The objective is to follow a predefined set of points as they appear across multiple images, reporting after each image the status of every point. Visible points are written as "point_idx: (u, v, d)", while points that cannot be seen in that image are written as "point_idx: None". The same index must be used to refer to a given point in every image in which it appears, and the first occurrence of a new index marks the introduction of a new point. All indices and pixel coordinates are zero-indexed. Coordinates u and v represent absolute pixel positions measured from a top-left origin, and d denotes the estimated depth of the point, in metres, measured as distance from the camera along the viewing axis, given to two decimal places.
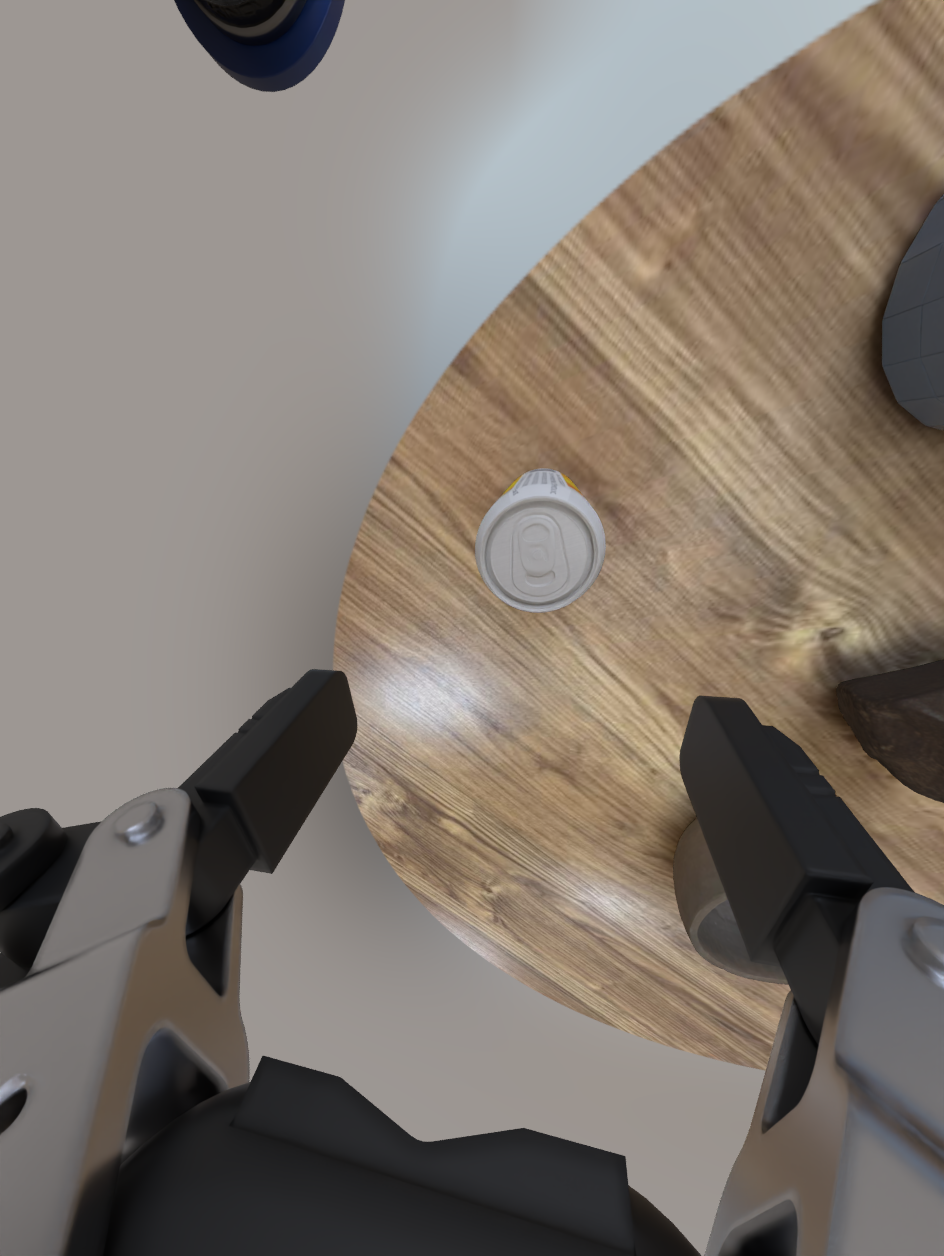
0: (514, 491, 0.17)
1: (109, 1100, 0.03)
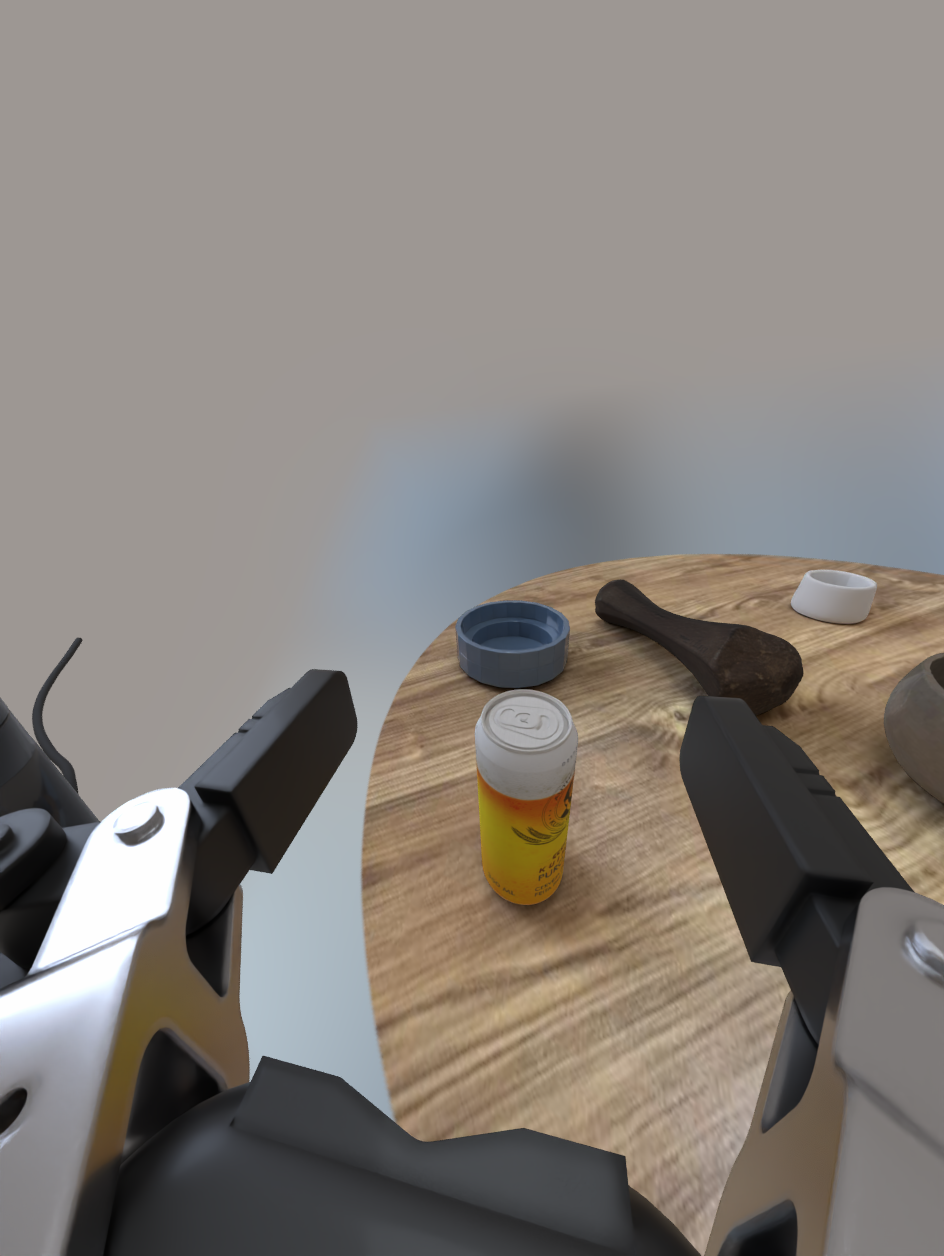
0: (475, 728, 0.23)
1: (109, 1100, 0.03)
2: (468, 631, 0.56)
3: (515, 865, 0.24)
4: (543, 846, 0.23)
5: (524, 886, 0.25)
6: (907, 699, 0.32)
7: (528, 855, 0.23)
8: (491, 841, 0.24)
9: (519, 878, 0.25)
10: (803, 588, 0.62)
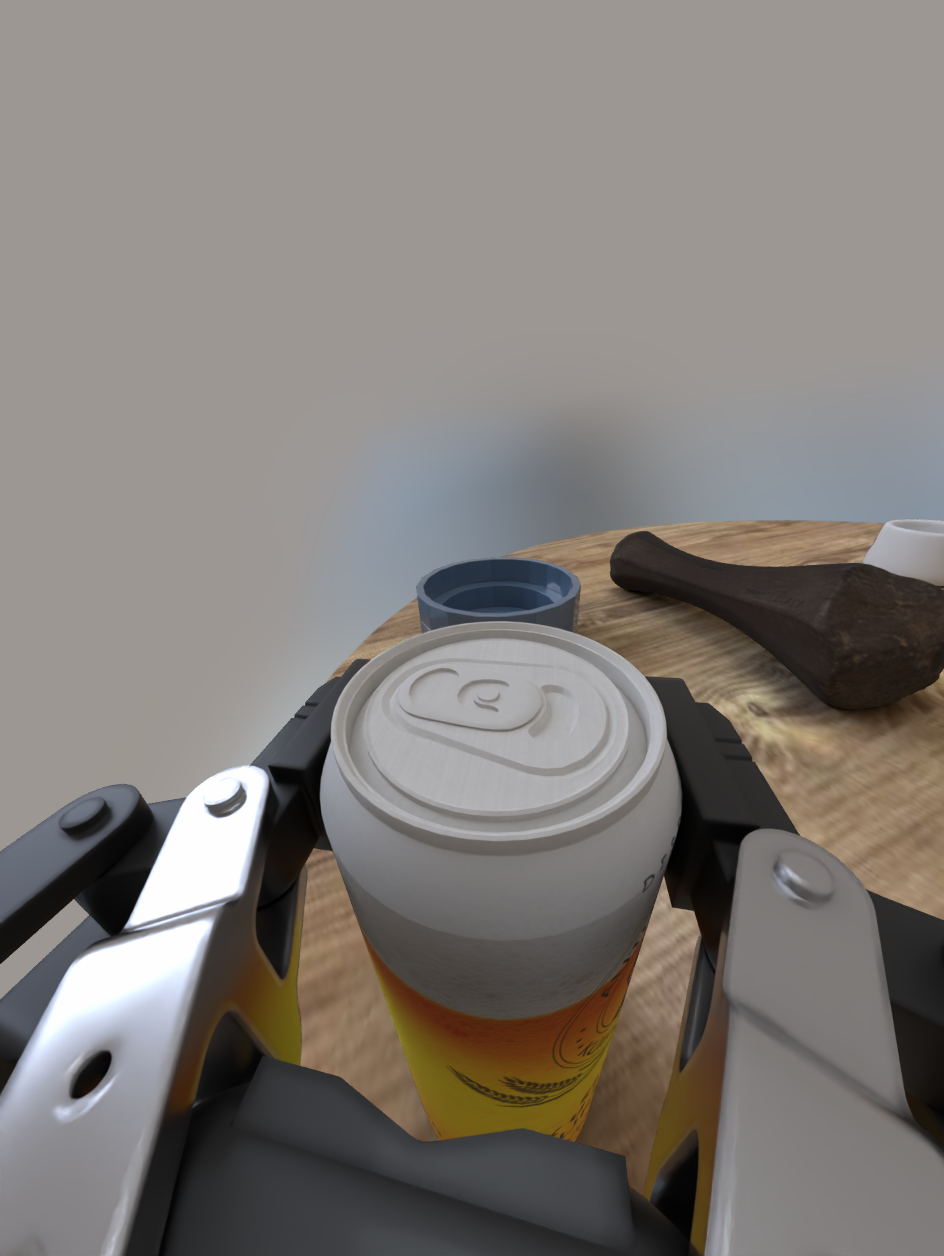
0: None
1: (178, 1085, 0.03)
2: (437, 597, 0.40)
3: (472, 1132, 0.08)
4: (556, 1101, 0.07)
5: None
6: None
7: (508, 1124, 0.08)
8: (405, 1053, 0.09)
9: None
10: (884, 542, 0.47)
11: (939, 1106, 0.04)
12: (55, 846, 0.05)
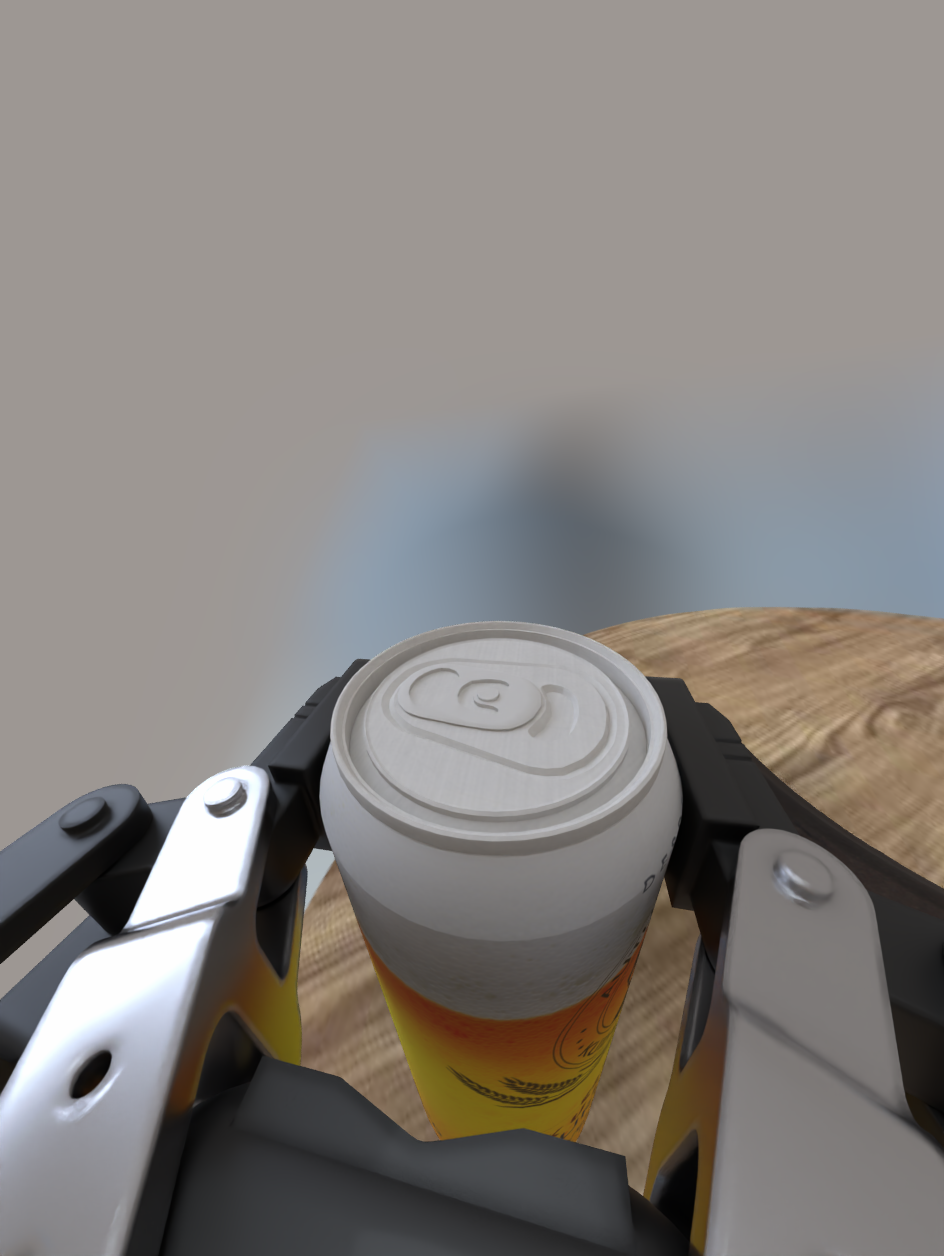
0: None
1: (178, 1085, 0.03)
2: None
3: (472, 1133, 0.08)
4: (557, 1102, 0.07)
5: None
6: None
7: (509, 1124, 0.08)
8: (406, 1054, 0.09)
9: None
10: None
11: (938, 1106, 0.04)
12: (54, 846, 0.05)
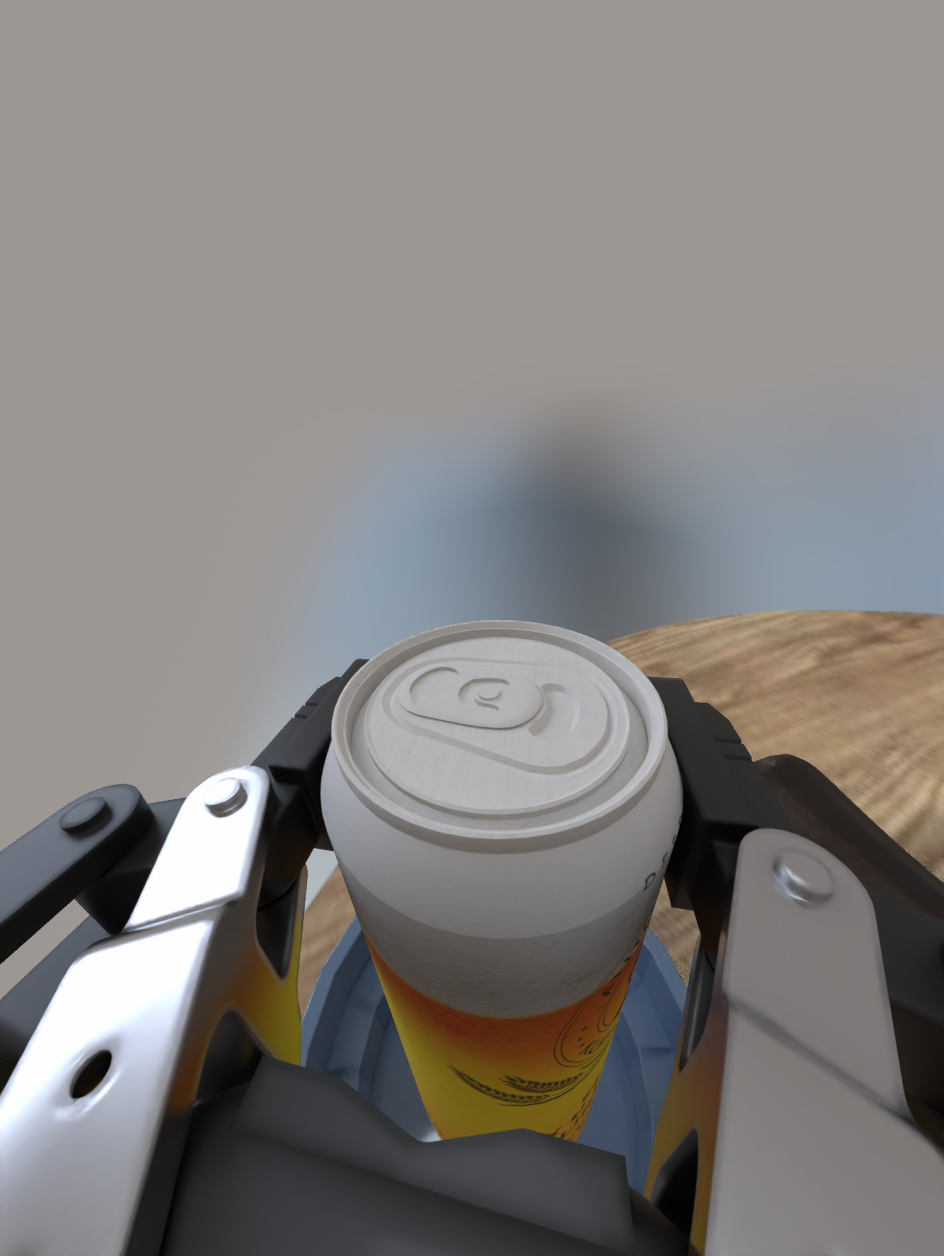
0: None
1: (178, 1085, 0.03)
2: (365, 975, 0.18)
3: (473, 1131, 0.08)
4: (558, 1100, 0.07)
5: None
6: None
7: (509, 1122, 0.08)
8: (407, 1052, 0.09)
9: None
10: None
11: (938, 1106, 0.04)
12: (55, 846, 0.05)
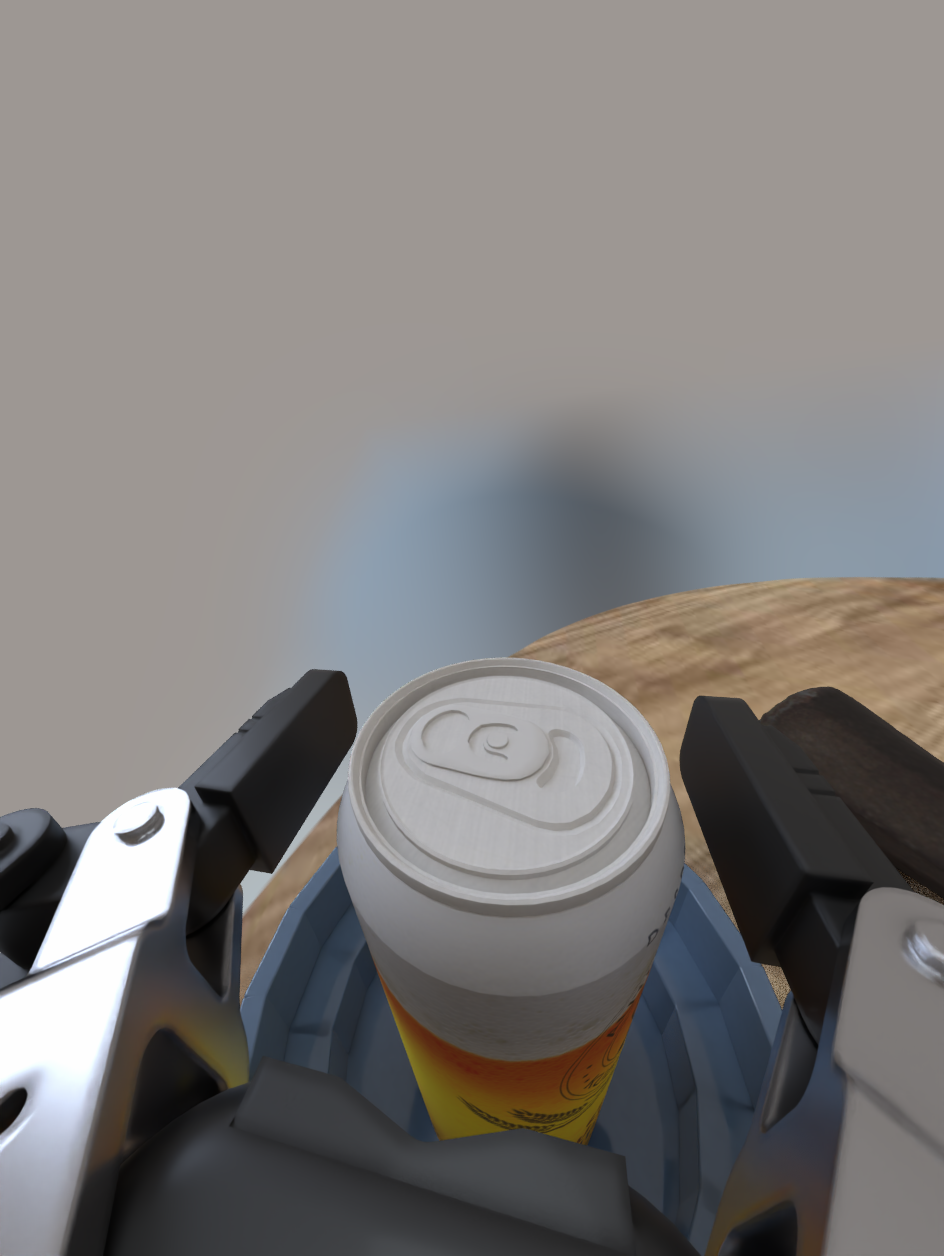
0: None
1: (109, 1100, 0.03)
2: (345, 922, 0.15)
3: None
4: (563, 1128, 0.08)
5: None
6: None
7: None
8: (416, 1077, 0.09)
9: None
10: None
11: None
12: None
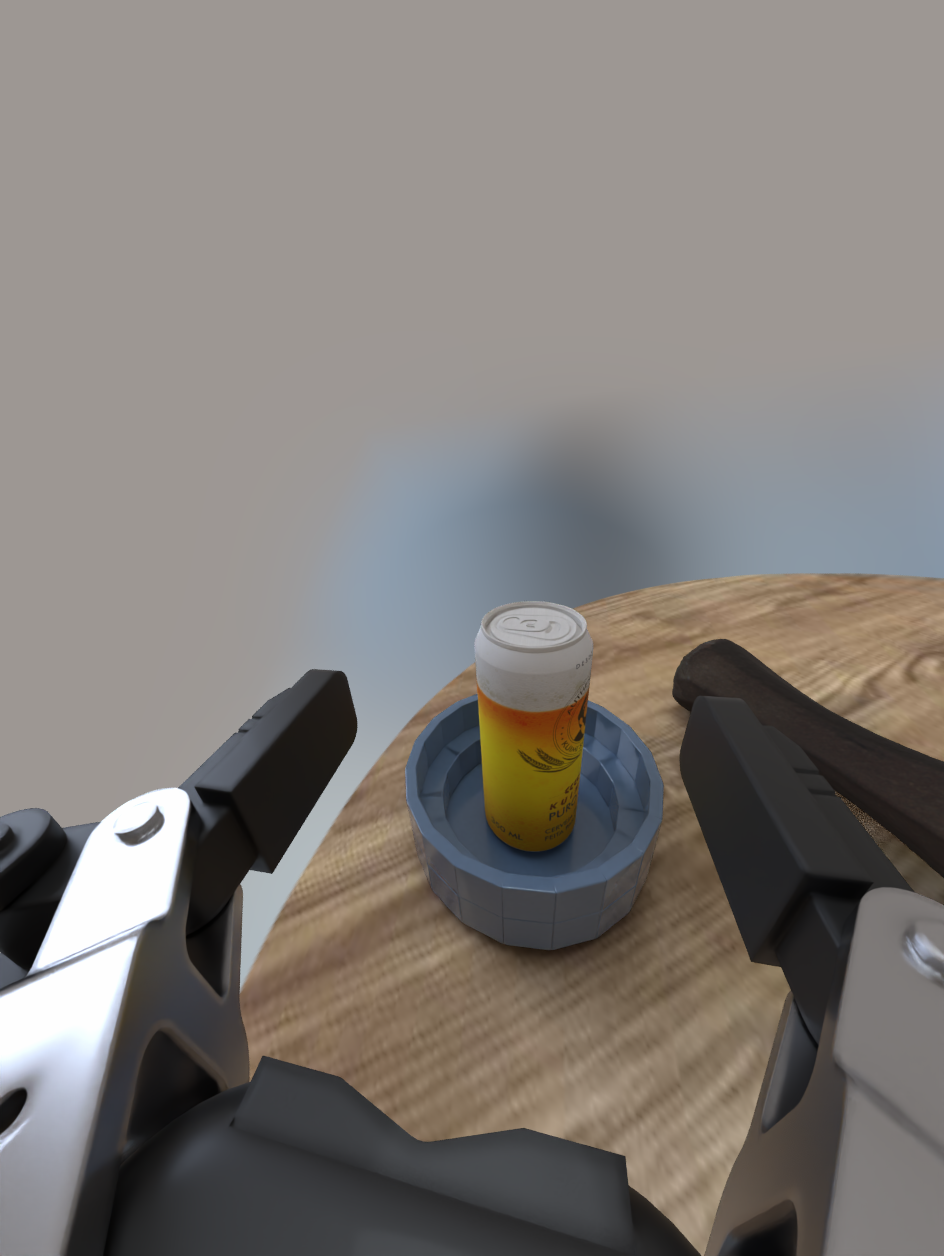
0: (475, 639, 0.20)
1: (109, 1100, 0.03)
2: (438, 759, 0.28)
3: (522, 801, 0.21)
4: (555, 774, 0.20)
5: (533, 827, 0.22)
6: None
7: (537, 786, 0.20)
8: (495, 774, 0.21)
9: (527, 818, 0.22)
10: None
11: None
12: None
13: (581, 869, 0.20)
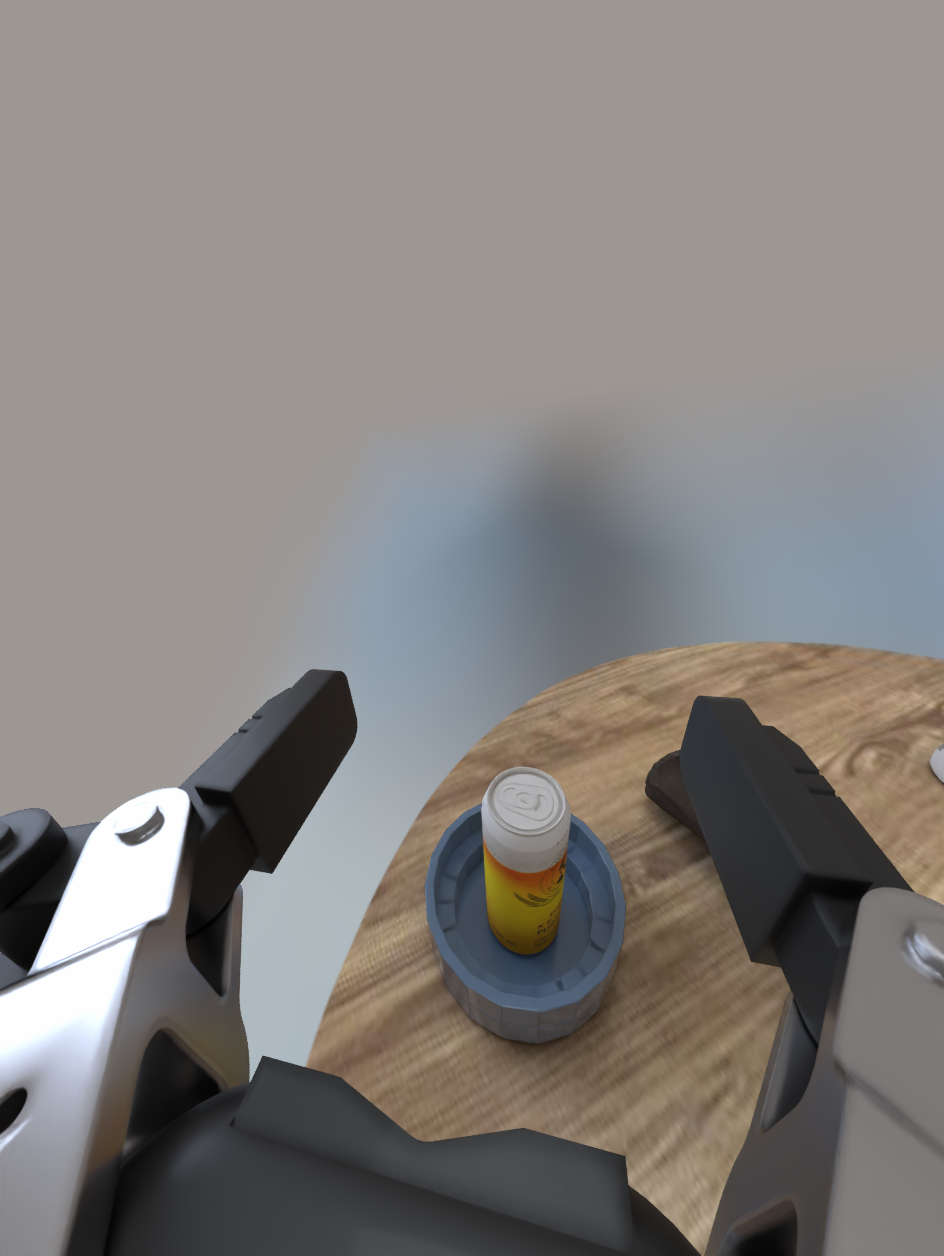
0: (482, 805, 0.26)
1: (109, 1100, 0.03)
2: (449, 864, 0.34)
3: (517, 923, 0.27)
4: (542, 907, 0.26)
5: (525, 939, 0.28)
6: None
7: (528, 915, 0.27)
8: (496, 900, 0.28)
9: (520, 933, 0.28)
10: None
11: None
12: None
13: (561, 978, 0.27)
